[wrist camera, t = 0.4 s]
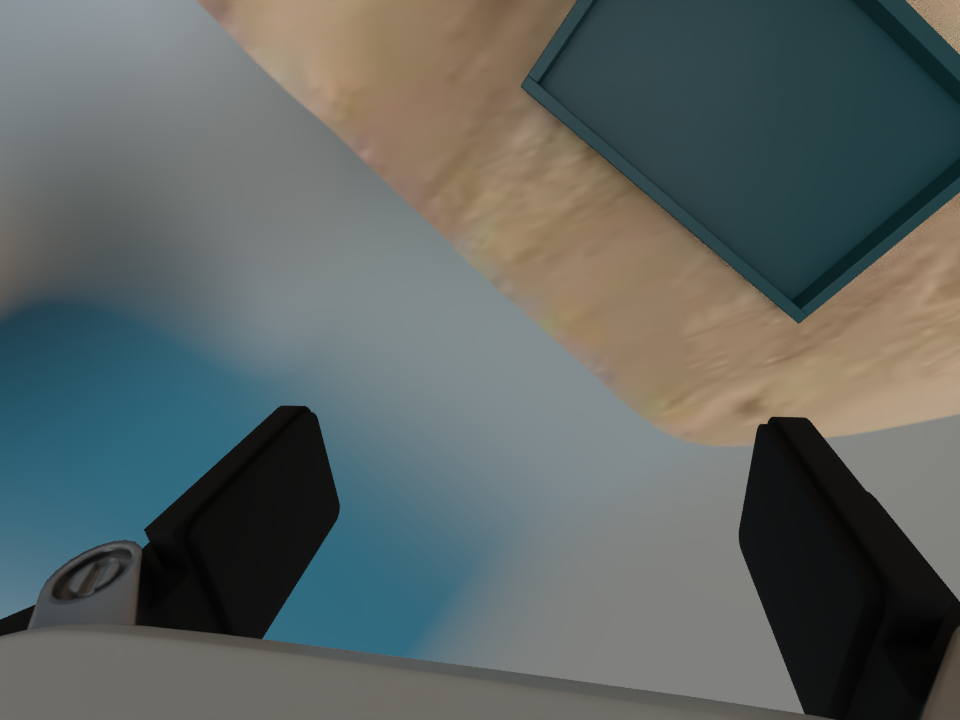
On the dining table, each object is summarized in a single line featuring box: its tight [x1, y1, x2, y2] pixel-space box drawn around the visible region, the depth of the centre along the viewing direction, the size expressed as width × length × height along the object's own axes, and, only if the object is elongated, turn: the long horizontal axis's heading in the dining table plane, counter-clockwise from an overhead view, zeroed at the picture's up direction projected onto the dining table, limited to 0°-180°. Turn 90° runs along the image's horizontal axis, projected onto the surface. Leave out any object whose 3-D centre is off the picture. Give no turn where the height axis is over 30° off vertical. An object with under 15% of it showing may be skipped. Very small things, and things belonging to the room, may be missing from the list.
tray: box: [521, 0, 960, 323], centre depth 31 cm, size 16×26×2 cm, turn 54°
